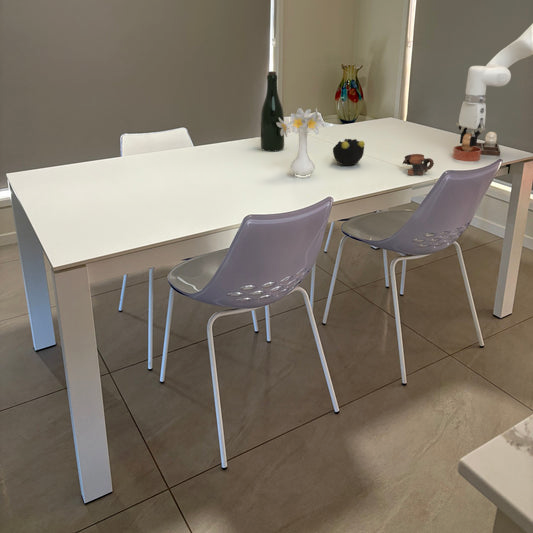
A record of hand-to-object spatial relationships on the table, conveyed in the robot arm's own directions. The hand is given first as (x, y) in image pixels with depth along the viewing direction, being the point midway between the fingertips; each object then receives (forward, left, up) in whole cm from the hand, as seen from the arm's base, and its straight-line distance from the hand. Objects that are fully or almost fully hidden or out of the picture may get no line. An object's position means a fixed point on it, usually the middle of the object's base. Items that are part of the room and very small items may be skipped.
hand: (467, 144), depth 241 cm
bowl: (0, 0, -6) cm, 6 cm away
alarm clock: (+46, +19, -7) cm, 51 cm away
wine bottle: (+82, +2, -7) cm, 83 cm away
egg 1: (0, 0, -3) cm, 3 cm away
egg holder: (-7, -14, -6) cm, 16 cm away
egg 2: (-10, -17, -6) cm, 20 cm away
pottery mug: (+18, +24, -7) cm, 31 cm away
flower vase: (+60, +40, -7) cm, 73 cm away
